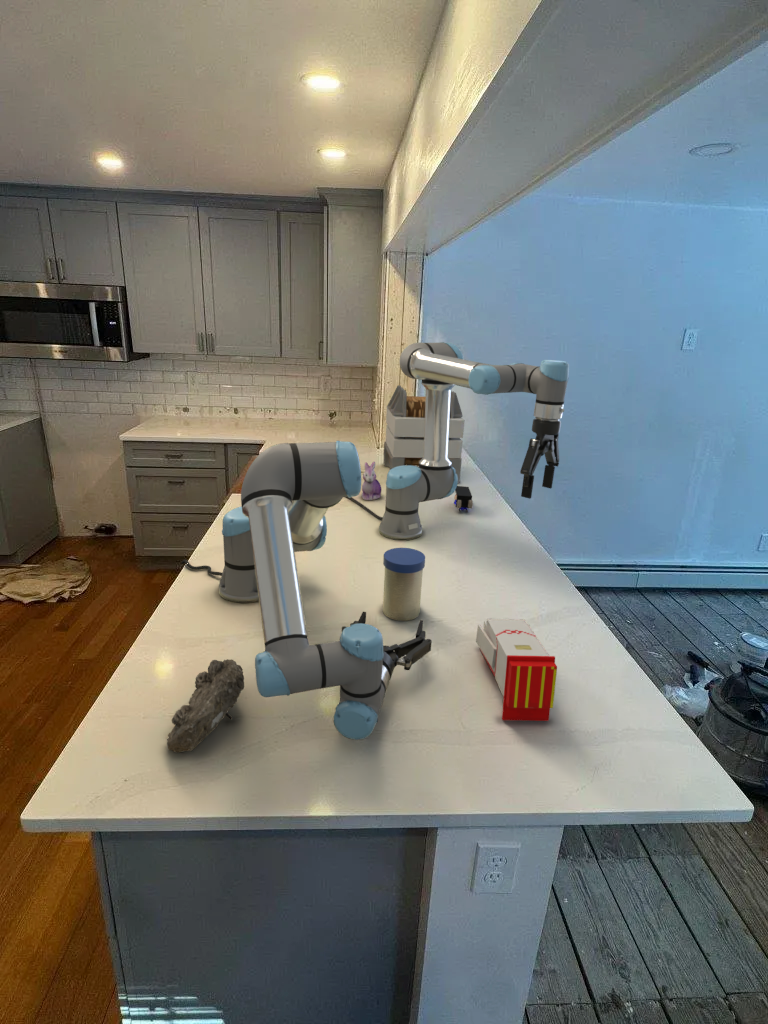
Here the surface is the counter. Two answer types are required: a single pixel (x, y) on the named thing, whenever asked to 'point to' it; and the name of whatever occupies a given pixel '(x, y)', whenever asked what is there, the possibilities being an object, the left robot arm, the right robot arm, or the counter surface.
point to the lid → (404, 560)
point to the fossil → (206, 705)
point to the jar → (402, 595)
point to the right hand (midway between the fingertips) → (536, 492)
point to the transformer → (417, 431)
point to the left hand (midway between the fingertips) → (392, 620)
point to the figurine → (370, 483)
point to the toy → (519, 668)
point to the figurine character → (463, 498)
